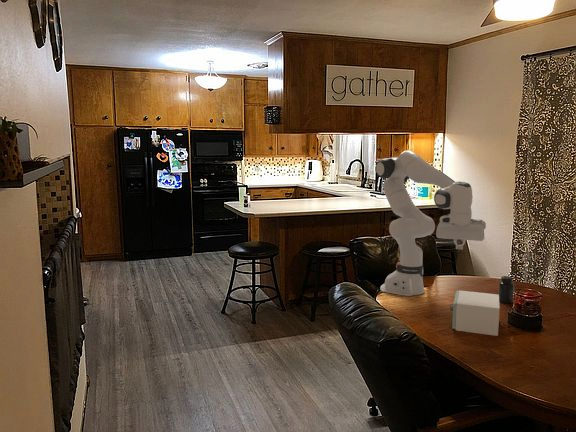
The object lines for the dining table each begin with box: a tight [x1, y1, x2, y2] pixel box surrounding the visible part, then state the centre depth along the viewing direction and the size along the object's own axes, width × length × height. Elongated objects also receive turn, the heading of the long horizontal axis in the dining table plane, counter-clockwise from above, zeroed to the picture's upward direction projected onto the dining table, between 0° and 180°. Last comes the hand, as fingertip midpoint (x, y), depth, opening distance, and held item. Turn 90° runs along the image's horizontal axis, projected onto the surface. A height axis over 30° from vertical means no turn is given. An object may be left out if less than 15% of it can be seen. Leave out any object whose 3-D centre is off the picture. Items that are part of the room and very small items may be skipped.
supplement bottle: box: [497, 275, 515, 304], centre depth 226 cm, size 7×7×12 cm
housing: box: [455, 290, 500, 337], centre depth 198 cm, size 16×18×12 cm
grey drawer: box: [449, 290, 459, 330], centre depth 199 cm, size 16×18×11 cm
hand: (459, 249), depth 210 cm, fingers closed
